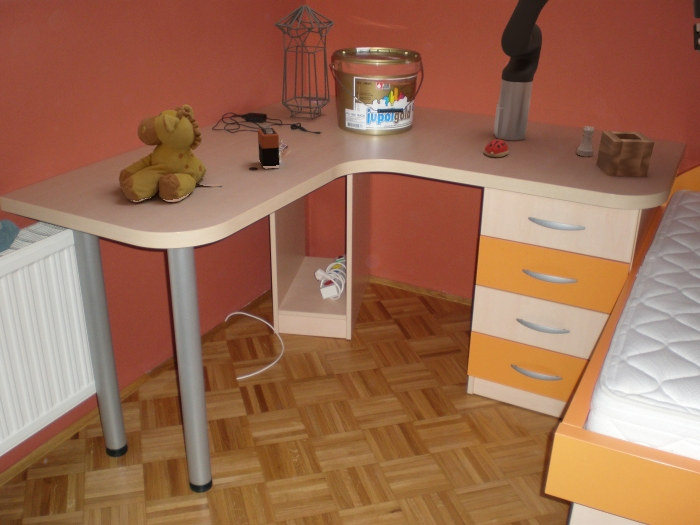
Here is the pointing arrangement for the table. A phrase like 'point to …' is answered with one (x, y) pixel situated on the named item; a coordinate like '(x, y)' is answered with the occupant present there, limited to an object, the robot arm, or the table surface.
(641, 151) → the socket block
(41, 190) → the table surface
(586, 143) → the rook chess piece
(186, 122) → the giraffe plush
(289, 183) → the table surface
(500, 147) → the ladybug figurine
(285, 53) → the geometric lantern
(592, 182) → the table surface
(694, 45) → the robot arm
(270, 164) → the battery
